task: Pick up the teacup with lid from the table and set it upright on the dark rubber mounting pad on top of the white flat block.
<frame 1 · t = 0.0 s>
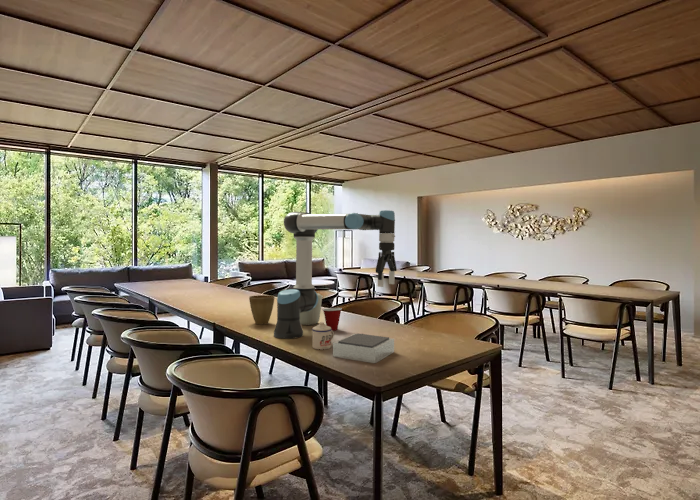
hand: (386, 285, 209), 28 cm above the table, tool pointing down, fingers open, 13 cm apart
plastic cup: (331, 330, 236), on the table
teacup with lid: (324, 347, 199), on the table
canister: (307, 324, 253), on the table
white flat block: (364, 354, 187), on the table
plant pot: (261, 323, 253), on the table
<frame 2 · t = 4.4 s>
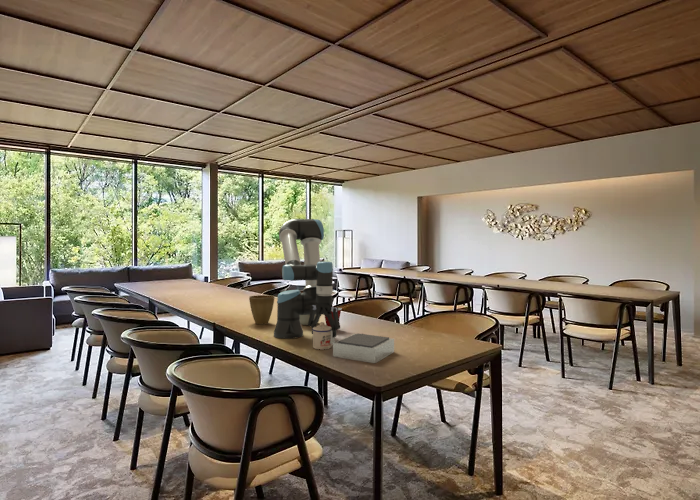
hand: (323, 342, 199), 2 cm above the table, tool pointing down, fingers closed on teacup with lid, 9 cm apart
teacup with lid: (324, 347, 199), on the table, touching gripper
everything else where it was.
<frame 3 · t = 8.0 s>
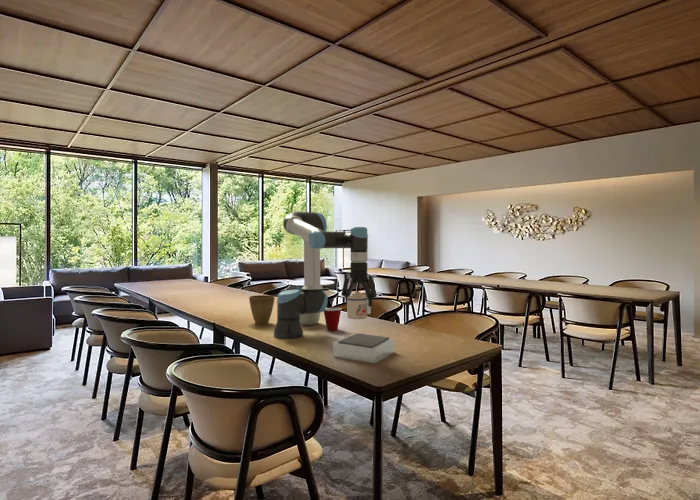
hand: (358, 312, 188), 18 cm above the table, tool pointing down, fingers closed on teacup with lid, 9 cm apart
teacup with lid: (359, 317, 187), point 16 cm above the table, touching gripper
everything else where it was.
when the fingers open (9 cm above the table, at t = 11.4 s): teacup with lid stays where it is, resting on white flat block.
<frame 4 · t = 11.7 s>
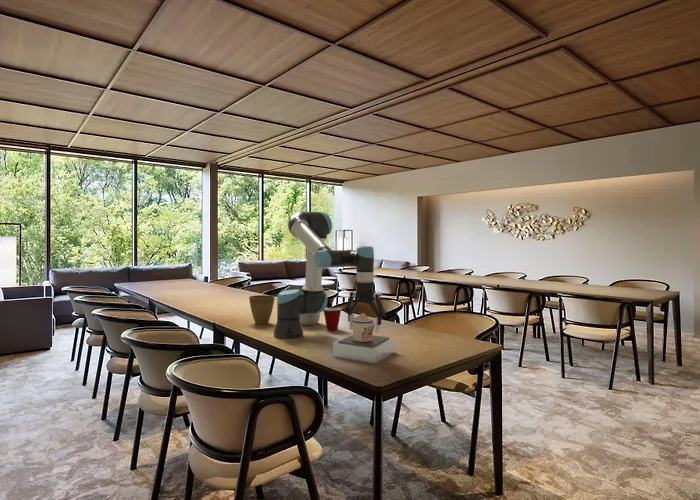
hand: (364, 330, 186), 10 cm above the table, tool pointing down, fingers open, 12 cm apart
teacup with lid: (364, 339, 186), point 6 cm above the table, touching white flat block
everything else where it was.
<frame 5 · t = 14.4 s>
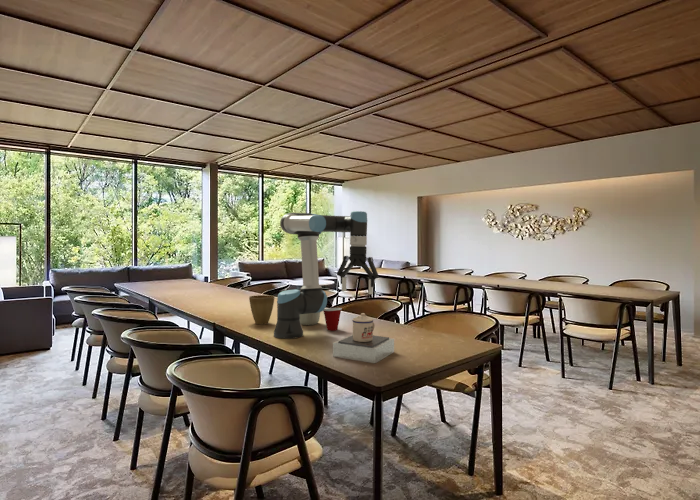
hand: (357, 292, 192), 26 cm above the table, tool pointing down, fingers open, 13 cm apart
nothing on the table moved.
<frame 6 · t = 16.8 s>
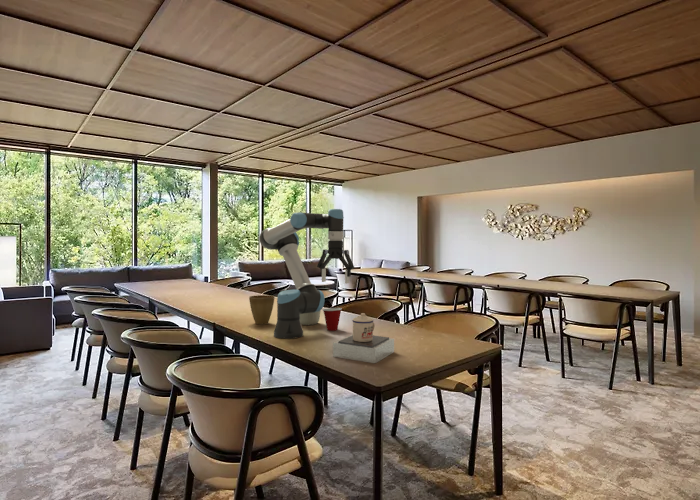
hand: (335, 282, 213), 29 cm above the table, tool pointing down, fingers open, 13 cm apart
nothing on the table moved.
at the end: teacup with lid inside the target area on the white flat block (0.3 cm from its centre), point 6.4 cm above the white flat block's base; teacup with lid tilted 0°; the gripper is holding nothing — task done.
